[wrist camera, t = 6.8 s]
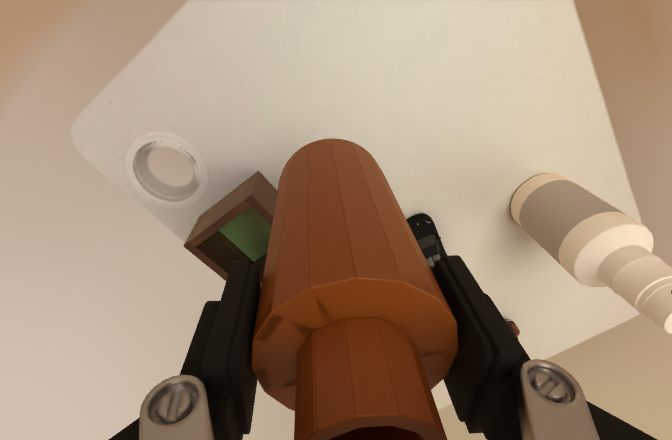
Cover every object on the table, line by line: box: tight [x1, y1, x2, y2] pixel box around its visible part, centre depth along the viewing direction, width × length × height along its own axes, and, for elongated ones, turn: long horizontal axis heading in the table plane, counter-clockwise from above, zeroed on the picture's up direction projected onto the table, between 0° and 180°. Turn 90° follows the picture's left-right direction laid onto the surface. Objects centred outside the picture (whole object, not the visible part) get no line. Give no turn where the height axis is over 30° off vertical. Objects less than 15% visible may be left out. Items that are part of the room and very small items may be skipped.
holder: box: [184, 171, 278, 289], centre depth 38 cm, size 9×16×6 cm, turn 36°
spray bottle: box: [511, 173, 672, 334], centre depth 32 cm, size 7×7×18 cm
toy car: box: [407, 214, 447, 272], centre depth 40 cm, size 8×4×2 cm, turn 26°
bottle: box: [251, 139, 459, 440], centre depth 13 cm, size 6×6×14 cm
